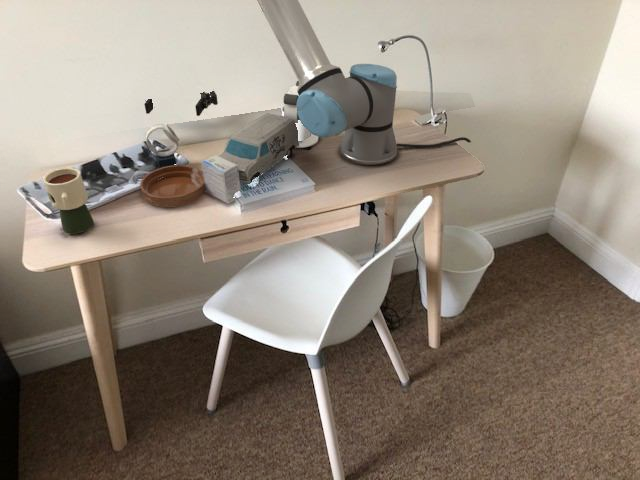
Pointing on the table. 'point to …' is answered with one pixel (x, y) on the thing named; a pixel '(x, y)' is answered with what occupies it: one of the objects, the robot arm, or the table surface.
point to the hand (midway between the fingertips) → (171, 109)
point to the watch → (167, 155)
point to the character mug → (69, 199)
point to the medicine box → (221, 178)
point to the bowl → (173, 186)
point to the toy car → (261, 145)
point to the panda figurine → (296, 114)
